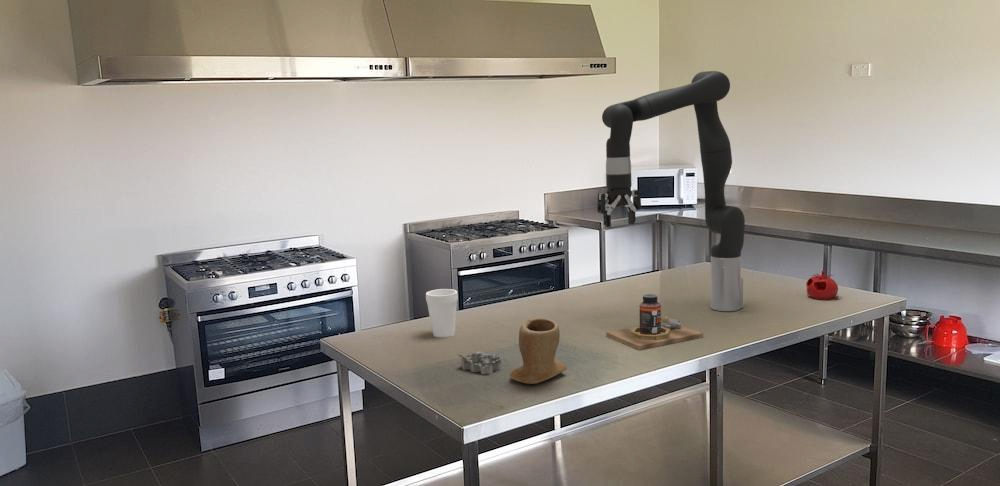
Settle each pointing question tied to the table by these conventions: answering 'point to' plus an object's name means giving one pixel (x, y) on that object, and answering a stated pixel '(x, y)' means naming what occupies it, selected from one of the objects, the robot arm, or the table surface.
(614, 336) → the board
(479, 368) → the egg carton
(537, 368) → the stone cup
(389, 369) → the table surface
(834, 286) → the pomegranate
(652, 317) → the supplement bottle
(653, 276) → the table surface
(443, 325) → the foam cup
